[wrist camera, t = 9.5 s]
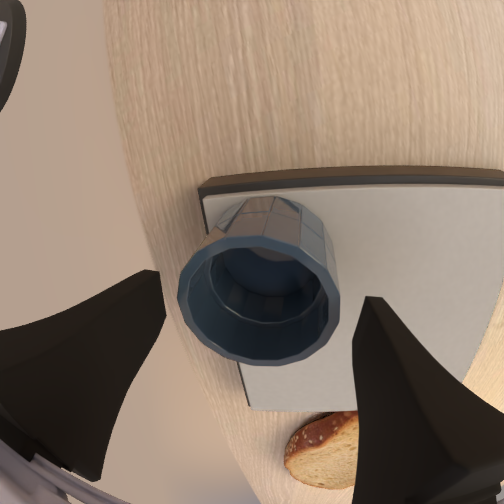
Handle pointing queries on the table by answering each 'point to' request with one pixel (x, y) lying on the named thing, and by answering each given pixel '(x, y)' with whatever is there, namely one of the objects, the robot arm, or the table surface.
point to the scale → (384, 265)
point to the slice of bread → (325, 451)
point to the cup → (263, 284)
